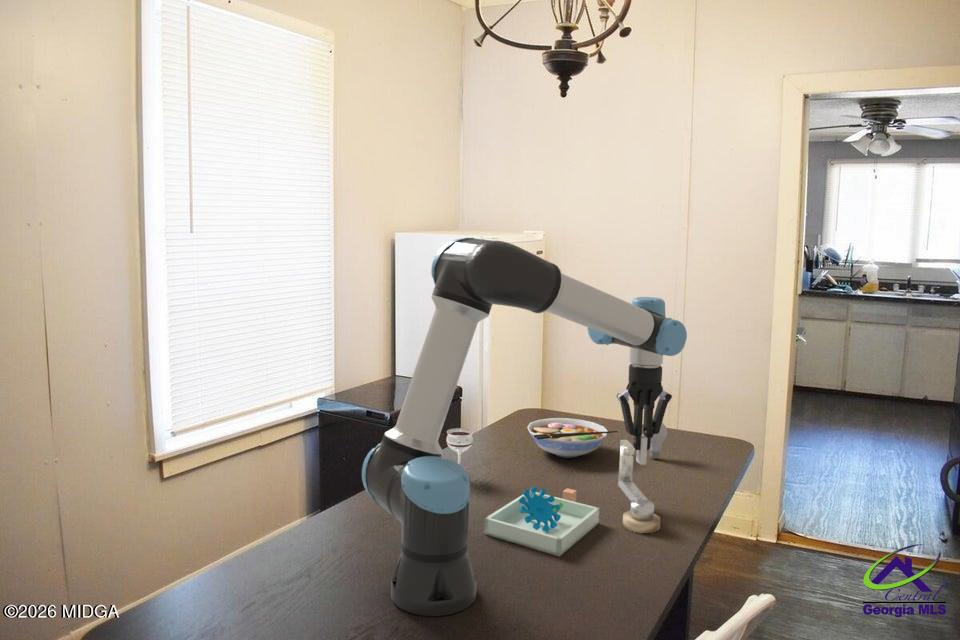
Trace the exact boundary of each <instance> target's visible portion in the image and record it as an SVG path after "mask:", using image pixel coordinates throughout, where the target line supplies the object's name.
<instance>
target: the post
mask: <svg viewBox="0 0 960 640" xmlns="http://www.w3.org/2000/svg"><path fill="white" fill-rule="evenodd" d="M561 499H565V500H569V501H573V502H577V490H575V489H572V488H568V487H567V488H565V489H564V490H563V491H562V497H561Z"/></svg>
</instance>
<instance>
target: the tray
mask: <svg viewBox="0 0 960 640" xmlns="http://www.w3.org/2000/svg"><path fill="white" fill-rule="evenodd" d="M528 490H529V489H528ZM529 491H530V494H529V495H530V497H532V492H531V489H530V490H529ZM536 495H537V496H539V495H540V492H538V491H537V492H536ZM522 496H524V495H523V494H522V495H519V496H518V497H517V498H515V499H513V500H511V501H510V502H509V503H507V504H505V505H504V506H502V507H501V508H498V509H497V510H496V511H494V512H493V513H491V514H489V515H488V516H486V517H485V518H484V528H483V529H484V530H483V533H484V535H486V536H489V537H493V538H496V539H499V540H503V541H506V542H508V543H513V544H516V545H519V546H522V547H526V548H530V549H532V550H537V551H539V552H543V553H546V554H550V555H553V556H556V557H561V556H562V555H563V554H564V553H565V552H567V551H568V550H569V549H570V548H571V547H573V546H574V545H575V544H577V542H578V541H580V540H581V539H582V538H584V536H586V535H587V534H588V533H589V532H591V530H593V529H594V528H596V527H597V526H598V524H599V523H600V507H596V506H594V505H590V504H589V505H588V504H585V503H582V502H581V503H580V502H577V501H576V502H573V501H569V500H565V499H562V497H561V498H560V497H557V496H553V497H554V498H555V500H554V501H553V502H549V501H548V502H549V503H550V504H552V505H558V504H559V503H562V504H563V507H562V508H561V509H560V510H559V511H558V512H557V514H559V515H560V516H561V518H560V520H558V521H555V519H554V517H553V516H552V518H553V520H554V521H555V522H556V523H557V526H556V527H555V528H553V529H552V528H551V527H550V521H549V520H548V526H549V528H550V530H549V531H548V532H545V531H543V530H542V528H543V527H544V523H543V522H541V523H540V528H539V529H538V530H536V529H534V528H533V525H534V524H535V523H537V521H536V520H531V521H530V522H529V523H526V521H525V519H524V518H525V517H526V516H529V515H530V514H528V513H520V507H521V506H524V507H525V508H526V509H527V510H528V508H527V507H526V506H525V505H524V504H522V503H520V502H519V499H520V498H521V497H522ZM550 496H551V495H549V494H545V495H544V496H543V498H548V497H550ZM524 497H525V496H524ZM525 499H526V501H527V502H528V500H527V498H526V497H525Z"/></svg>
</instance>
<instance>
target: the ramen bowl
mask: <svg viewBox="0 0 960 640" xmlns="http://www.w3.org/2000/svg"><path fill="white" fill-rule="evenodd" d="M527 430H528V432H529V434H530V436H531V437H532V439H533V441H534V443H535V444H536V445H537V446H538V447H539V448H541V449H542V450H544V451H546V452H548V453H551V454H553V455H555V456H556V457H558V458H559V457H560V458H565V459H570V458H571V459H572V458H577V457H579V456H583V455H587V454H590V453H591V452H593V451H595V450H597V449H598V448H599V447H600V446H601V445H602V443H604V441H605V439H606V437H607V435H608V434H612V433H618V431H617V430H610V431H608V429H607V428H606V427H605V426H604V425H601V424H599V423H596V422H593V421H588V420H584V419H578V418H570V417H569V418H568V417H567V418H566V417H555V418H554V417H552V418H551V417H550V418H544V419H543V418H542V419H538V420H535V421H532V422H530V423H528V425H527Z"/></svg>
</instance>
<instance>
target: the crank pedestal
mask: <svg viewBox="0 0 960 640" xmlns="http://www.w3.org/2000/svg"><path fill="white" fill-rule="evenodd" d="M622 526H623V528H624V529H626V530H628V531H629V532H632V531H633V532H632V533H636V532H637V533H636V534H642V533H651V534H654V533H653V532H655V533H657V532H656V531H658V530H659V529H661V517H660V516H659V515H657V514H656V513H654V517H653V519H652V520H650V521H639V520H635V519H633V518H632V517H631V516H630V510H628V511H624V513H623V515H622ZM659 531H660V530H659ZM659 531H658V532H659Z"/></svg>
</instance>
